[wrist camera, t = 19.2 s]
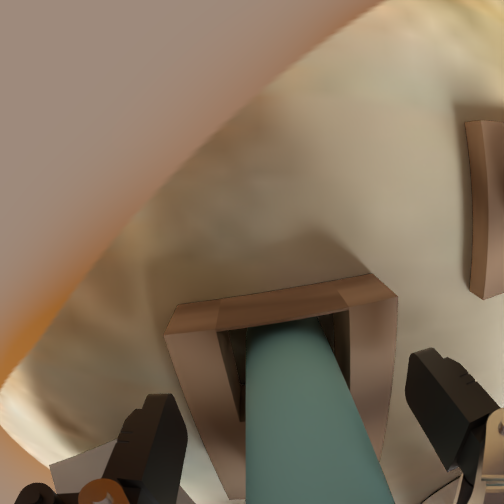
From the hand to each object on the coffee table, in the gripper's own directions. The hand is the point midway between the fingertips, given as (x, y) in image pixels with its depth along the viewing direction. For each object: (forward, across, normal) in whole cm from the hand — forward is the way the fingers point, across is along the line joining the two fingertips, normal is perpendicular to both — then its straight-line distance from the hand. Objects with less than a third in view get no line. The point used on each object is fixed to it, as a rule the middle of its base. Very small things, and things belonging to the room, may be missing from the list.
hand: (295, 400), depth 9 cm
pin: (+4, 0, 0) cm, 4 cm away
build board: (+4, 0, +3) cm, 5 cm away
